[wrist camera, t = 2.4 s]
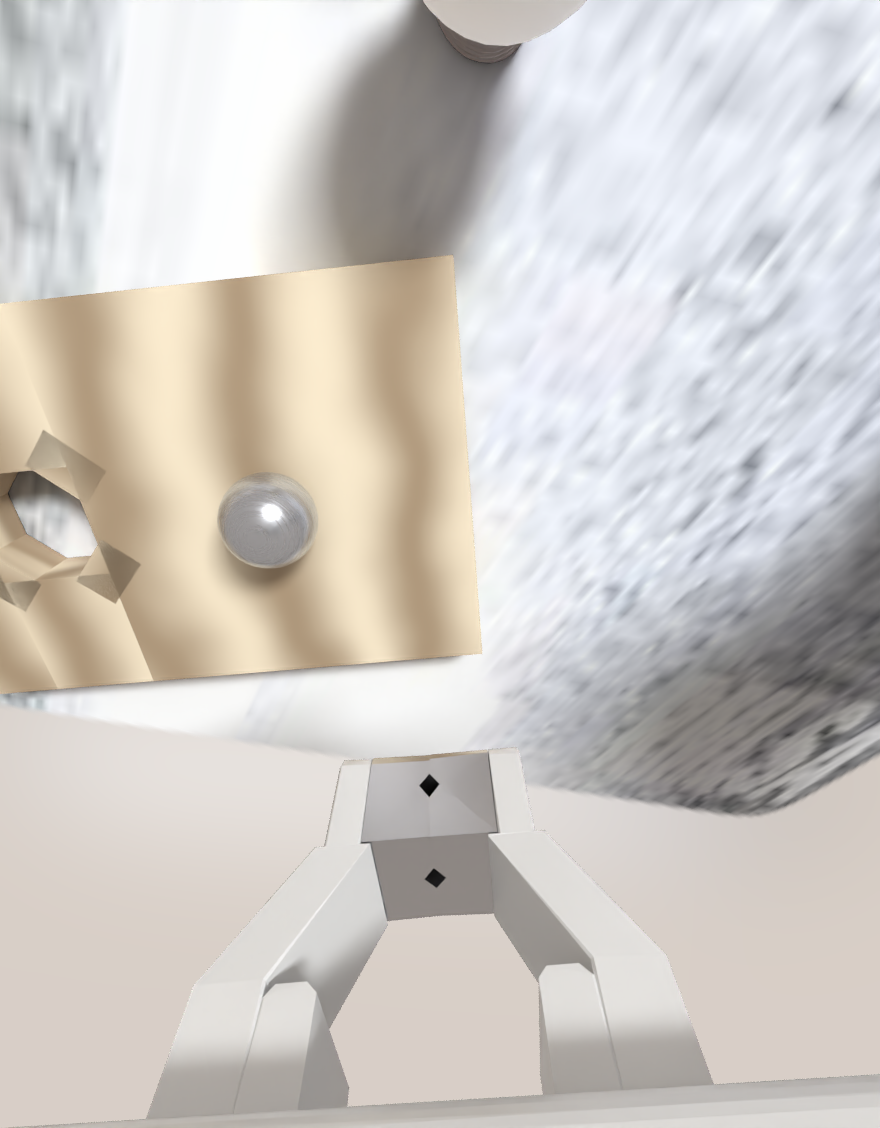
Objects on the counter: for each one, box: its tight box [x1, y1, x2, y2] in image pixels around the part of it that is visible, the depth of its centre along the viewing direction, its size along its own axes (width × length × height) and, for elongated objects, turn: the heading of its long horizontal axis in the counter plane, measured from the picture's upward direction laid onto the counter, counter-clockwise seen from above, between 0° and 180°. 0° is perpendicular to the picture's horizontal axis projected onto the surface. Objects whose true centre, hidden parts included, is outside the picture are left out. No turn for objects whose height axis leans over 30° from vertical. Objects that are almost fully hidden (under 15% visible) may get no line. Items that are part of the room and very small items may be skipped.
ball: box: [217, 472, 318, 569], centre depth 22 cm, size 4×4×4 cm
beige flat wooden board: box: [0, 255, 482, 694], centre depth 25 cm, size 26×18×2 cm
